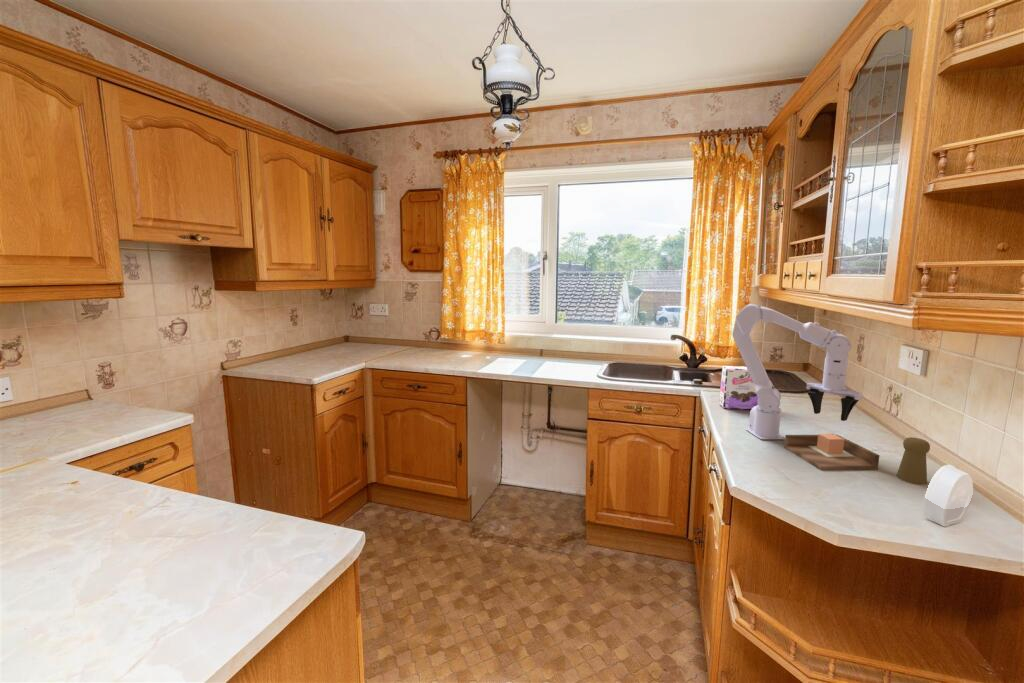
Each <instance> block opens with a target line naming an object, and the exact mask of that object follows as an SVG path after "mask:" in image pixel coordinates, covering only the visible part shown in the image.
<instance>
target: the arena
mask: <svg viewBox="0 0 1024 683" xmlns="http://www.w3.org/2000/svg"><path fill="white" fill-rule="evenodd" d="M836 435H837V436H839V437H841V438H843V439H844V447H843V454H826V453H825V452H823V451H821V450H819V449H817V441H818V434H785V436H784V438H785V439H784V448H785V449H786V450H788V451H790V452H791V453H793V454H795V455H796V456H797V457H799V458H801V460H803V461H806V462H807V463H809V464H810V465H812V466H813V467H815V468H816V469H818V470H819V471H822V470H824V471H826V470H827V471H828V470H829V471H832V470H833V471H834V470H836V471H838V470H841V471H842V470H843V471H844V470H846V471H847V470H878V469H879V462H880V455H879V454H878V453H876V452H873V451H871V450H870V449H867V448H866V447H863V446H861V445H859V444H857V443H856V442H854V441H851V440H849V439H848V438H845V437H843V436H841V435H839V434H836Z"/></svg>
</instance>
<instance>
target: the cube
mask: <svg viewBox="0 0 1024 683" xmlns="http://www.w3.org/2000/svg"><path fill="white" fill-rule="evenodd" d="M817 435H818V441H817V449H819V450H821V451H823V452H825V453H826V454H843V447H844V439H843V438H844V437H843V438H841V437H842V436H841V437H839V436H840V435H839V436H837V435H838V434H835V433H818V434H817Z"/></svg>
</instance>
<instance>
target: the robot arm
mask: <svg viewBox="0 0 1024 683" xmlns="http://www.w3.org/2000/svg"><path fill="white" fill-rule="evenodd" d="M760 321H761V324H763V323H764V324H765V323H766V324H767V323H774V324H776V325H778V326H781V327H784V328H786V329H788V330H791V331H793V332H796V333H798V336H799V338H800V340H804V341H806V342H808V343H811V344H812V345H815V346H817V347H819V348H827V349H826V355H825V358H824V366H823V375H822V383H816V382H807V383H806V390H808V391H807V395H808V397H809V399H810V401H811V403H812V404H811V405H812V408H813V413H814V414H815V415H819V414H820V413H821V411H822V401H823V397H824V394H825V393H826V394H832V395H836V396H841V397H842V398H840V401H841V402H840V404H841V413H840V414H841V415H840V421H843V422H845V421H847V420H848V418H849V415H850V413H851V412H852V410H853V409H854V407H855V406H856V404H857V403H858V402H859V401H860V400H862V397H863V393H862V392H860V391H855V390H853V389H849V388H846V382H847V374H848V366H849V359H848V358H849V352H850V351H851V349H852V345H851V344H852V343H851V341H850V340H849V338H848V337H847V336H846V335H844V334H842V333H840V332H837V330H835V329H832V330H831V329H829V328H826V327H823V326H821V324H820V323H819V322H817V321H815V322H812V321H809V322H806V323H803V322H801V321H799V320H797V319H795V318H792V317H790V316H788V315H786V314H783V313H782V312H779V311H777V310H775V309H772V308H769V307H767V306H760V305H759V304H756V303H748V304H746V305H745V306H743V307H742V308H741V309H740V310H739V312H738V313H737V315H736V316H735V321H734V326H733V330H732V338H733V340H734V342H735V345H736V346H737V349H738V351H739V354H740V355H741V356H740V357H742V360H743V362H744V364H745V367H747V370H748V372H749V374H750V376H751V379H752V381H753V383H754V386H755V390H756V393H757V396H758V400H757V403H758V405H757V406H755V407H753V408H752V409H751V410H749V411H750V412H749V421H748V427H747V428H745V430H746V431H747V432H749V433H751V434H752V435H753V436H755V437H757V438H758V439H759V440H765V441H766V440H785V436H783V435H780V425H781V414H782V409H781V408H780V405H781V399H782V395H781V393H780V391H779V390H778V389H777V388H776V387H775V386H774V385H773V382H772V381H771V380H770V377H769V376H768V373H767V371H766V369H765V367H764V365H763V364H764V363H763V362H762V360H761V357H760V355H759V353H758V351H757V349H756V347H755V344H754V342H753V340H752V337H751V336H750V334H751V332H752V330H753V328H754V326H755V325H756V324H758V322H760Z"/></svg>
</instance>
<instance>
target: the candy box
mask: <svg viewBox="0 0 1024 683" xmlns="http://www.w3.org/2000/svg"><path fill="white" fill-rule="evenodd" d="M757 400H758V396H757V393H756V390H755V386H754V383H753V381H752V379H751V376H750V374H749V372H748V370H747V367H746V366H731V365H722V367H721V376H720V390H719V403H718V404H719V405H720V406H721V408H722V409H724V408H727V409H726V410H743V409H752V408H753V407H755V406H757V405H758V403H757Z"/></svg>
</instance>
